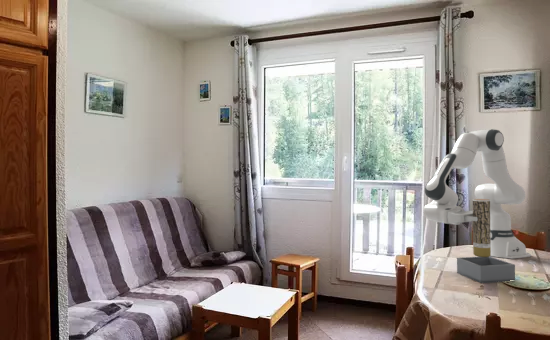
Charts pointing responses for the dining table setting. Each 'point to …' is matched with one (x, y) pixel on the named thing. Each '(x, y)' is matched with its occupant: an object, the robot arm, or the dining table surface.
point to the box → (485, 269)
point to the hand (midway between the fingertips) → (483, 218)
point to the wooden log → (481, 228)
